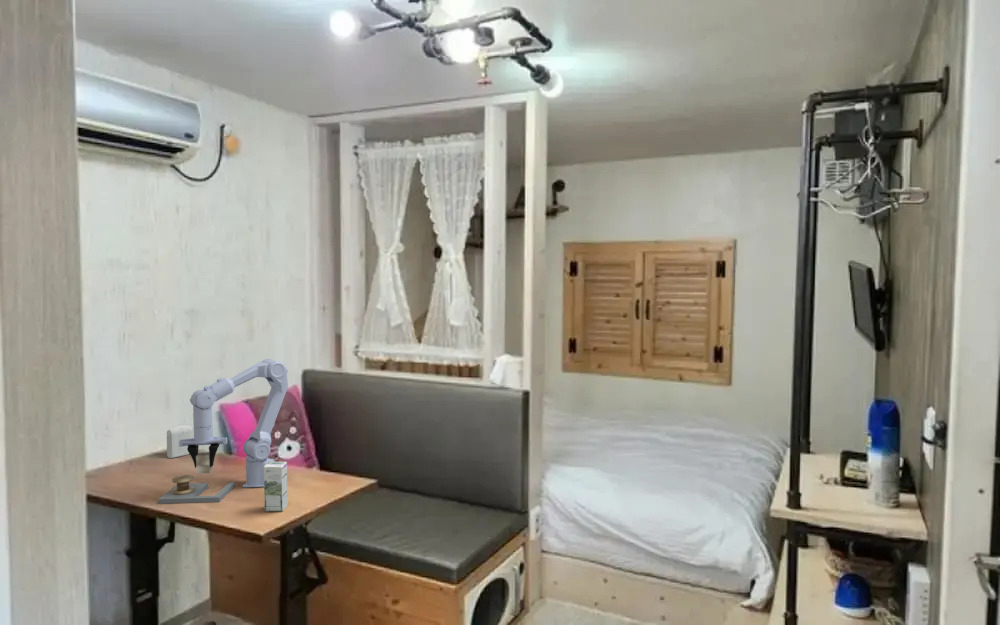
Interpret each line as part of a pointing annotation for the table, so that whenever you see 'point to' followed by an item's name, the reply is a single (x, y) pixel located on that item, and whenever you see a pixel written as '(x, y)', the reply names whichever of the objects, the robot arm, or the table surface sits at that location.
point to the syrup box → (275, 486)
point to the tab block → (203, 463)
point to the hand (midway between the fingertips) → (204, 466)
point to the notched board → (196, 494)
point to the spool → (182, 485)
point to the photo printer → (175, 436)
